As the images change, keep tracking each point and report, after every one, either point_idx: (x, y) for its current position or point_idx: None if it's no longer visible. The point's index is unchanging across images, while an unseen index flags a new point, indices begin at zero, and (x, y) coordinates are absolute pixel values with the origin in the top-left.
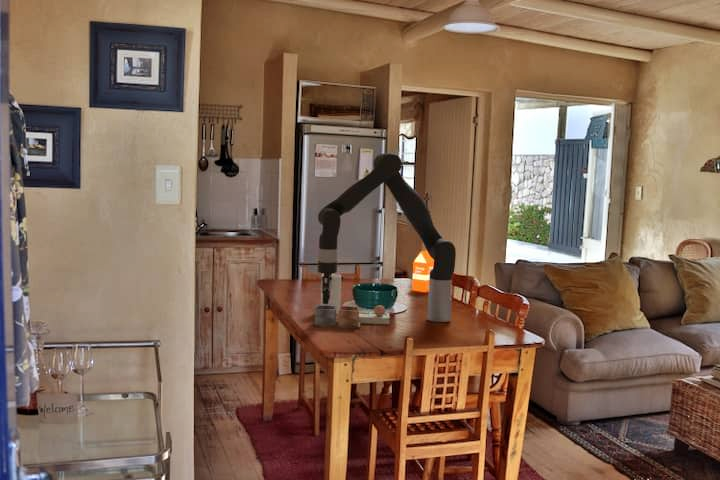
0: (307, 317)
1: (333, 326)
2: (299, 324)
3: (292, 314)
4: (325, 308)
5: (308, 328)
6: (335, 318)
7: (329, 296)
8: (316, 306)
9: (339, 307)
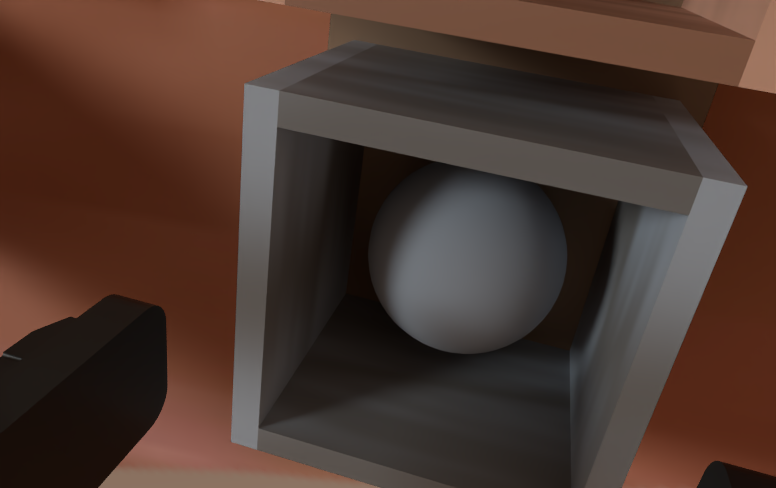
0: None
1: (698, 122)
2: None
3: None
4: (289, 285)
5: (677, 442)
6: (511, 84)
7: (110, 348)
8: (357, 477)
9: (434, 28)
